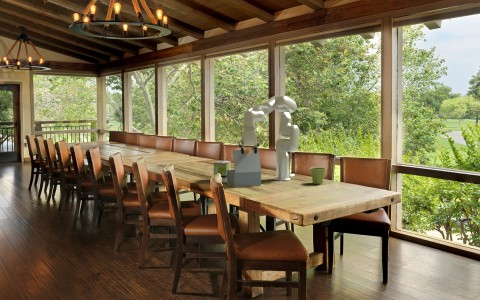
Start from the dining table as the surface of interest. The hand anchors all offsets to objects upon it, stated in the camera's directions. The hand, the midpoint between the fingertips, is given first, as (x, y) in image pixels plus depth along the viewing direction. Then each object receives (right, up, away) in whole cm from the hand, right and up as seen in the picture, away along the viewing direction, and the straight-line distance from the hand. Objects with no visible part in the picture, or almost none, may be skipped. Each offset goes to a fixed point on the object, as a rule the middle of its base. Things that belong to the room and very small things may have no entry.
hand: (249, 153), depth 292 cm
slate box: (-4, -22, +11) cm, 25 cm away
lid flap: (-1, -5, +4) cm, 7 cm away
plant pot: (+51, -22, +18) cm, 58 cm away
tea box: (-20, -21, +27) cm, 40 cm away
